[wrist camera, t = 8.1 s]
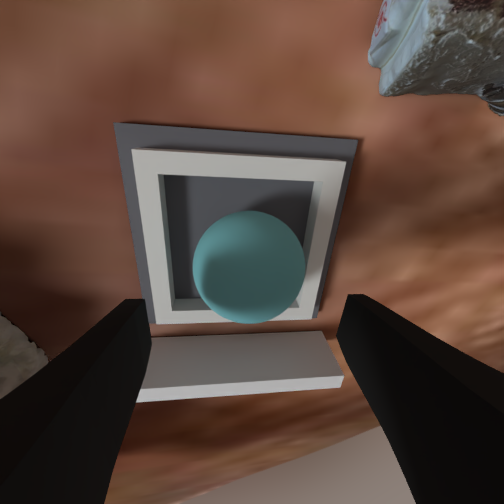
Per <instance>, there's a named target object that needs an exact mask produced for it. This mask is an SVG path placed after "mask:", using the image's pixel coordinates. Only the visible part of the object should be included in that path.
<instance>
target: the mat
mask: <svg viewBox="0 0 504 504" xmlns="http://www.w3.org/2000/svg"><path fill="white" fill-rule="evenodd" d="M113 123H114V122H113ZM114 129H115V135H116V141H117V147H118V153H119V159H120V165H121V172H122V178H123V184H124V190H125V196H126V202H127V208H128V214H129V220H130V226H131V232H132V238H133V244H134V250H135V256H136V262H137V268H138V274H139V280H140V286H141V292H142V298H143V299H145V302H146V309H147V315H148V321H149V323H156V324H181V323H211V322H233V321H231V320H228V319H226V318H223V317H222V316H220V315H218V314H217V313H216V312H214V311H213V310H212V309H210V307H209V306H208V305H207V304H206V303H205V302H204V300H203V299H202V298H201V296H200V294H199V292H198V290H197V288H196V285H195V281H194V276H193V258H194V253H195V250H196V247H197V245H198V242H199V240H200V238H201V237H202V235H203V234H204V233H205V231H206V230H207V229H208V228H209V227H210V226H211V225H212V224H214V223H215V222H216V221H218V220H219V219H221V218H222V217H225V216H227V215H229V214H232V213H236V212H240V211H258V212H263V213H266V214H269V215H272V216H274V217H276V218H278V219H279V220H281V221H282V222H283V223H285V224H286V225H287V226H288V227H289V228H290V229H291V230H292V231H293V233H294V234H295V235H296V237H297V238H298V240H299V242H300V244H301V246H302V249H303V252H304V258H305V278H304V282H303V285H302V288H301V290H300V292H299V294H298V296H297V298H296V299H295V300H294V302H293V303H292V304H291V305H290V307H289V308H287V309H286V310H285V311H284V312H283V313H281V314H280V315H278V316H277V317H275V318H273V319H270V320H268V321H272V320H302V319H312V318H317V314H318V310H319V306H320V302H321V297H322V293H323V289H324V284H325V280H326V276H327V272H328V267H329V263H330V259H331V254H332V250H333V246H334V242H335V237H336V233H337V229H338V224H339V220H340V216H341V211H342V207H343V203H344V199H345V194H346V190H347V186H348V181H349V177H350V173H351V169H352V164H353V160H354V156H355V151H356V147H357V143H358V140H352V139H338V138H324V137H310V136H296V135H282V134H268V133H254V132H240V131H226V130H212V129H198V128H184V127H170V126H156V125H142V124H128V123H114Z"/></svg>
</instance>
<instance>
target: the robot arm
mask: <svg viewBox="0 0 504 504" xmlns="http://www.w3.org/2000/svg"><path fill="white" fill-rule="evenodd" d="M336 337H337V339H338V342H339V345H340V347H341V350H342V353H343V355H344V357H345V360H346V362H347V364H348V366H349V368H350V370H351V372H352V374H353V375H354V377H355V379H356V381H357V383H358V385H359V386H360V388H361V390H362V392H363V394H364V396H365V397H366V399H367V401H368V403H369V405H370V407H371V408H372V410H373V412H374V414H375V416H376V417H377V419H378V421H379V423H380V425H381V427H382V428H383V431H384V433H385V435H386V436H387V438H388V440H389V443H390V445H391V447H392V449H393V451H394V454H395V456H396V458H397V460H398V462H399V465H400V467H401V469H402V472H403V474H404V476H405V478H406V481H407V483H408V486H409V488H410V490H411V493H412V495H413V498H414V500H415V502H416V504H504V373H502V372H500V371H498V370H496V369H494V368H492V367H490V366H488V365H486V364H484V363H482V362H480V361H478V360H476V359H474V358H472V357H470V356H469V355H467V354H465V353H463V352H461V351H460V350H458V349H456V348H454V347H452V346H451V345H449V344H447V343H445V342H444V341H442V340H440V339H438V338H437V337H435V336H433V335H432V334H430V333H428V332H426V331H425V330H423V329H421V328H420V327H418V326H416V325H415V324H413V323H412V322H410V321H408V320H407V319H405V318H403V317H402V316H400V315H398V314H397V313H395V312H394V311H392V310H390V309H389V308H387V307H385V306H384V305H382V304H380V303H379V302H377V301H375V300H373V299H372V298H370V297H368V296H366V295H364V294H348V296H347V300H346V303H345V307H344V310H343V314H342V317H341V321H340V324H339V327H338V331H337V334H336ZM151 347H152V340H151V334H150V327H149V321H148V315H147V309H146V302H145V299H125V300H124V301H123V302H122V303H120V304H119V305H118V306H117V307H116V308H114V309H113V310H112V311H111V312H110V313H109V314H108V315H106V316H105V317H104V318H103V319H102V320H101V321H99V322H98V323H97V324H96V325H95V326H94V327H92V328H91V329H90V330H89V331H88V332H86V333H85V334H84V335H83V336H82V337H80V338H79V339H78V340H77V341H76V342H75V343H73V344H72V345H71V346H70V347H68V348H67V349H66V350H65V351H63V352H62V353H61V354H59V355H58V356H57V357H56V358H54V359H53V360H52V361H51V362H49V363H48V364H47V365H45V366H44V367H43V368H42V369H40V370H39V371H38V372H36V373H35V374H34V375H33V376H31V377H30V378H29V379H27V380H26V381H25V382H23V383H22V384H21V385H19V386H18V387H16V388H15V389H14V390H12V391H11V392H9V393H8V394H7V395H5V396H4V397H2V398H1V399H0V504H104V502H105V498H106V494H107V491H108V487H109V483H110V479H111V475H112V472H113V469H114V465H115V462H116V459H117V456H118V452H119V450H120V447H121V444H122V441H123V438H124V435H125V432H126V429H127V427H128V424H129V421H130V418H131V415H132V412H133V409H134V407H135V404H136V401H137V398H138V395H139V392H140V389H141V386H142V383H143V380H144V377H145V374H146V370H147V366H148V361H149V357H150V352H151Z"/></svg>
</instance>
